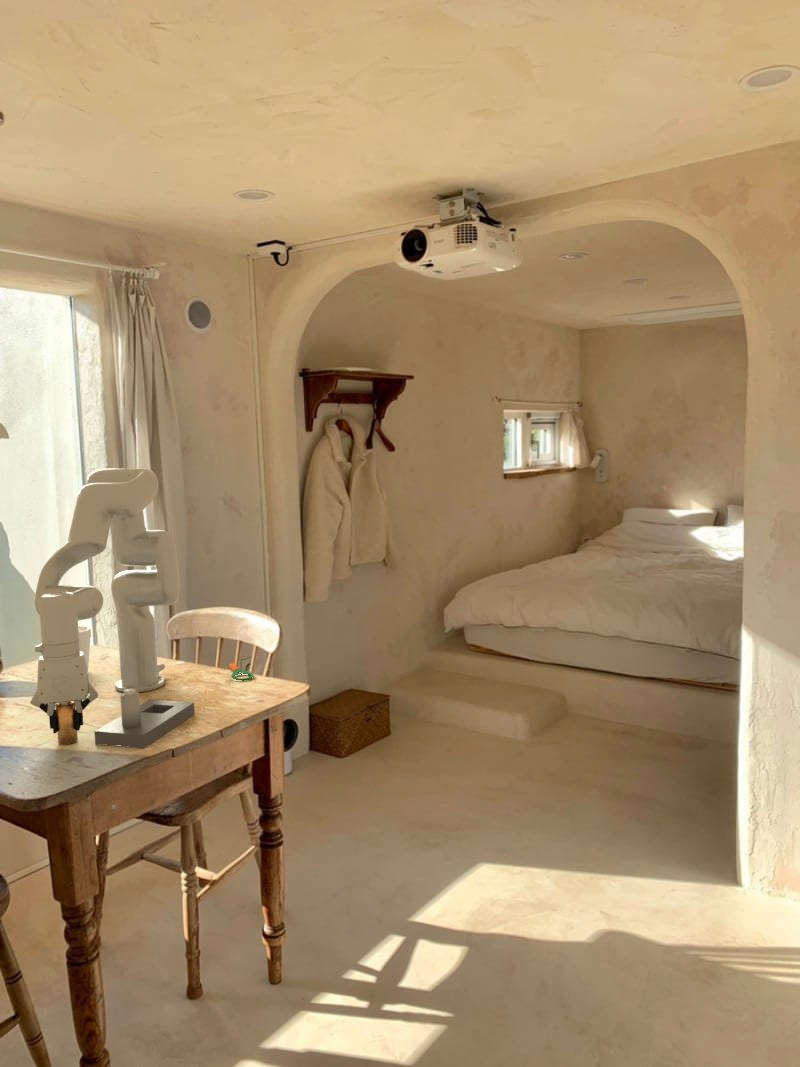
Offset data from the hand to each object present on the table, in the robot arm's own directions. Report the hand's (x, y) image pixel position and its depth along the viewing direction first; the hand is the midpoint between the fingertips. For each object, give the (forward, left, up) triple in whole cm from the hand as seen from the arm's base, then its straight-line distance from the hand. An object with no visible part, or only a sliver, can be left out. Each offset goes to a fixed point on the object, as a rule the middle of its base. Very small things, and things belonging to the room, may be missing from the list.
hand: (67, 729), depth 180 cm
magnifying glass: (-55, +15, -4) cm, 57 cm away
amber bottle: (0, 0, -3) cm, 3 cm away
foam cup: (-47, -32, -3) cm, 57 cm away
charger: (-11, +13, -3) cm, 17 cm away
